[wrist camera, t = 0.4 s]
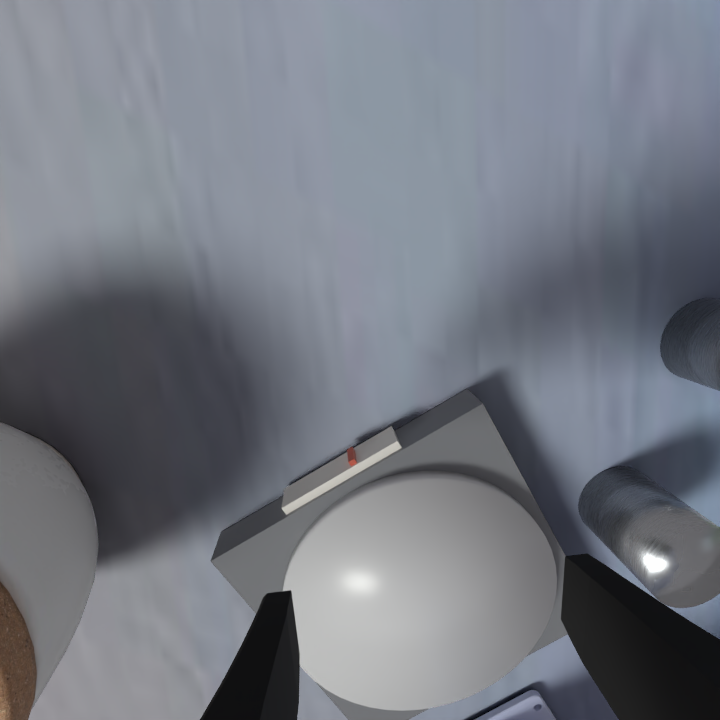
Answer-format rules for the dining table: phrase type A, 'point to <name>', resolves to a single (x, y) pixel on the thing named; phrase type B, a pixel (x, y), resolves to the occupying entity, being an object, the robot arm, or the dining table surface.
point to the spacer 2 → (694, 343)
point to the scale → (407, 565)
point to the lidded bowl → (39, 565)
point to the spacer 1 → (654, 536)
